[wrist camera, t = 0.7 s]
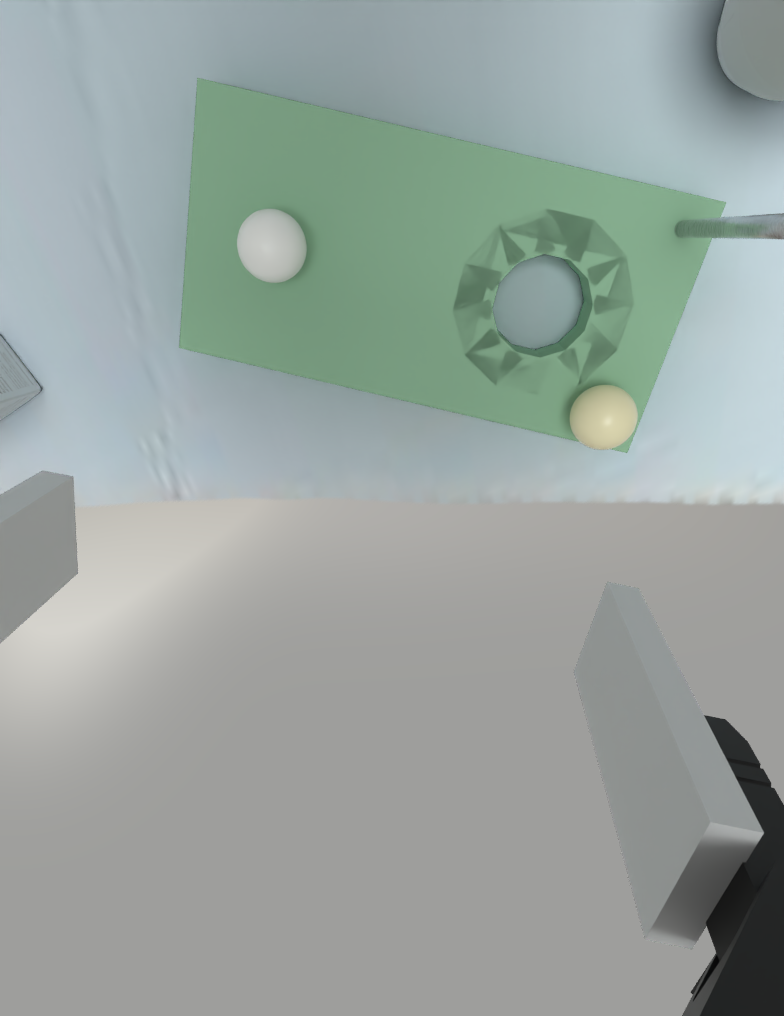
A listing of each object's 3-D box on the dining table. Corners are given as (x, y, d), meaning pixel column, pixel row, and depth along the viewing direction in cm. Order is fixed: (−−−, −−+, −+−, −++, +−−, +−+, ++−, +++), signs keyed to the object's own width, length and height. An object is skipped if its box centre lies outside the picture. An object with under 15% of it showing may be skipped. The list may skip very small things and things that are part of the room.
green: (196, 340, 37) (179, 347, 35) (215, 89, 32) (197, 77, 30) (616, 439, 37) (627, 452, 35) (706, 204, 32) (726, 202, 30)
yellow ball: (576, 372, 34) (589, 386, 30) (637, 386, 34) (656, 401, 30) (556, 431, 35) (566, 450, 32) (615, 444, 35) (630, 465, 32)
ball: (253, 203, 32) (231, 199, 29) (317, 218, 32) (302, 216, 29) (245, 272, 33) (224, 276, 30) (307, 287, 33) (292, 292, 30)
